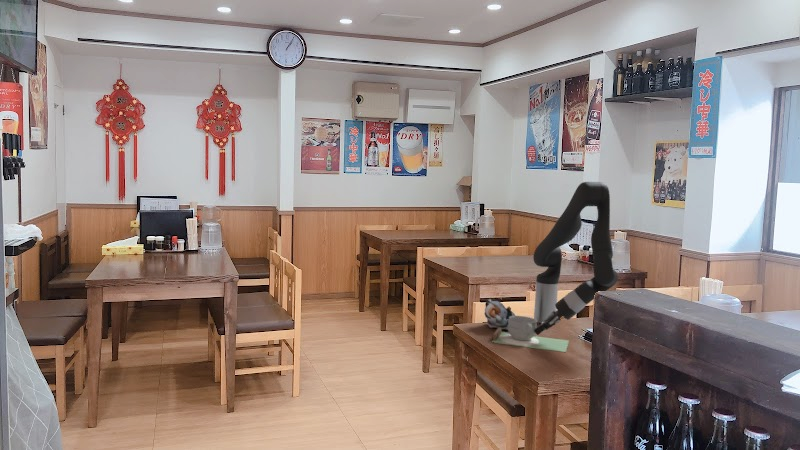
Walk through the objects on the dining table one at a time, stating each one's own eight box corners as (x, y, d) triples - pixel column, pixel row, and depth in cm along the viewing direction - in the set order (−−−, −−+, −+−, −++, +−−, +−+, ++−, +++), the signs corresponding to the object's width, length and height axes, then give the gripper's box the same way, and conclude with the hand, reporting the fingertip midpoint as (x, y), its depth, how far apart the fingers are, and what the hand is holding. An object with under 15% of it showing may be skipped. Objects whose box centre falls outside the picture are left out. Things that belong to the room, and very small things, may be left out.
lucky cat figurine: (523, 331, 250) (515, 304, 244) (495, 342, 250) (487, 315, 244) (511, 312, 264) (503, 286, 258) (485, 322, 263) (476, 296, 257)
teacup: (505, 334, 245) (507, 314, 244) (533, 335, 245) (534, 315, 244) (510, 344, 231) (512, 323, 230) (540, 345, 231) (541, 324, 230)
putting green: (499, 332, 248) (499, 325, 248) (568, 341, 240) (569, 334, 239) (491, 342, 233) (492, 335, 233) (565, 352, 225) (566, 345, 224)
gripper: (565, 293, 237) (531, 321, 242) (563, 300, 225) (526, 329, 230) (578, 308, 236) (544, 336, 241) (577, 316, 224) (540, 345, 229)
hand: (535, 332), depth 235 cm, fingers closed
